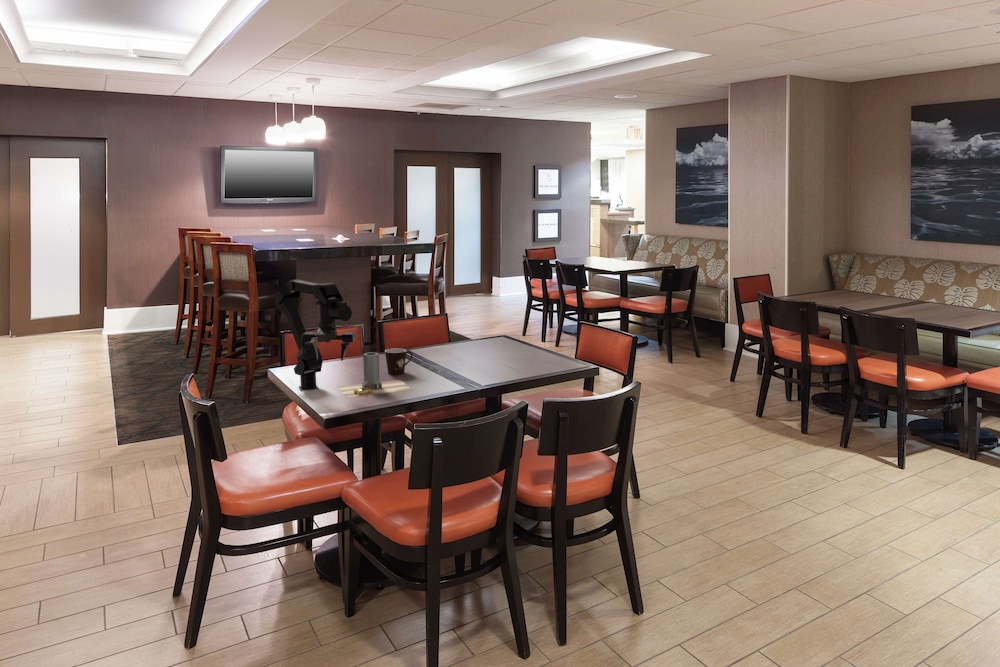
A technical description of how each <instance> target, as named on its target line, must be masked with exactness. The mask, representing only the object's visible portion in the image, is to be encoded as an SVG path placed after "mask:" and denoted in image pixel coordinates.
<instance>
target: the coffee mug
mask: <svg viewBox="0 0 1000 667" xmlns="http://www.w3.org/2000/svg"><path fill="white" fill-rule="evenodd" d="M407 354H410V358H409V359H408V360H407V362H406V358H407ZM384 356H385V360H386V361H385V362H386V369H387V374H388V375H389V376H401V375H404V374H405V371H406V370H405V367H406V366H407V365H408V363H410V362H411V360H412V359H413V353H412V352H411V351H407V349H406V348H388V349H385V350H384Z"/></svg>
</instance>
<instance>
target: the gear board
mask: <svg viewBox="0 0 1000 667" xmlns="http://www.w3.org/2000/svg"><path fill="white" fill-rule="evenodd" d="M381 383H382V388H379V389H378V390H376V389H374V390H372V393H371V394H367V395H366V396H372V395H380V394H390V393H400V392H408V391H413V388H412V387H410V386H409V385H408V384H406V383H405V382H404V381H403V380H401V379H399V380H389V381H388V380H387V381H381ZM361 387H362V383H360V384H359V383H358V384H351V385H341V386H337V388H338V389H339V391H340V392H341V393H342V395H343V396H344V397H345V398H354V397H361V396H364V397H365V395H357V394H354V390H355V389H358V388H361Z"/></svg>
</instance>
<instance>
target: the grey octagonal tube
mask: <svg viewBox="0 0 1000 667" xmlns="http://www.w3.org/2000/svg"><path fill="white" fill-rule="evenodd" d="M379 354H380V353H378V352H373V351H371V352H365V353H363V355H362V356H363V358H362V359H363V382H361V384H362V388H363V387H364V388H366V387H368V388H369V389H371V388H372V390H374V389H376V390H378V389H379V388H382V383H381V382H382V381H381V380H380V379H381V378H380V355H379Z"/></svg>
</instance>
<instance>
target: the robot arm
mask: <svg viewBox="0 0 1000 667" xmlns="http://www.w3.org/2000/svg"><path fill="white" fill-rule="evenodd" d="M302 293H303V294H308V295H312V296H313V297H314V299H316V301H315V305H316V306H318V310H319V322H318V329H317V330H316V332H315V331H306V327H305V325H304V322H303V320H302V317H301V314H300V311H299V308H300V298H301V297H302ZM273 301H274V303H275V306H276V307H277V309H278V311H279V312H280V313H282V314H283V315H284V317H285V318H286V321H287V324H288V326H289V328H290V331H291V334H292V336H293V339H294V341H295V344H296V347H297V350H298V351H297V356H296V358H297V363H296V365H295V366H294V367H293V371H294V375H298V376H299V377H300V385H299V386H298V388H299V389H300V391H301V392H303V391H309V390H317V389H319V386H318V385H317V373H321V372H322V367H323V363H324V362H323V356H322V354H321V350H320V348H318V343H322V342H323V343H330V342H331V341H341V343H340V345H341V351H340V361H341V362H343V360H344V358H345V356H346V352H347V349H348V346H350V345H351V343H354V342H355V341H356V339H357V335H356V333H355V332H354V331H353V332H346V331H345V332H342V334H338V331H337V330H338V329H337V321H341V322H348V321H349V320H351V317H352V314H353V312H352V311H353V310H352V309H351V307H350V306H349V305H348V302H347V301H344V299H343V296H342V294H341V292H340V290H339V288H338V286H336V283H334V282H327V283H325V282H324V283H316V282H312V281H311V282H310V281H306V280H302V279H299V278H298V279H290V280H289V281H287V283H286V285H284V286H282V287H281V288H280V289H279V290H278V291H277V292H276V294H275V295H274V299H273Z"/></svg>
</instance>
